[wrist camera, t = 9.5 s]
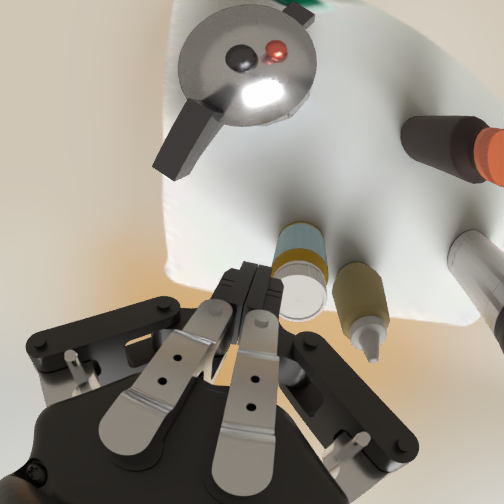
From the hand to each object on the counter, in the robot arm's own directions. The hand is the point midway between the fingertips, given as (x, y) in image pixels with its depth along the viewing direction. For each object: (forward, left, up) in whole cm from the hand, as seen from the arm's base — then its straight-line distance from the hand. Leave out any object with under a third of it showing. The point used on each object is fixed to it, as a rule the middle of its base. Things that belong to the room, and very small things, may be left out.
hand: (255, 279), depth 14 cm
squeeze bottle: (-14, +13, -27) cm, 33 cm away
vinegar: (-18, -11, -27) cm, 34 cm away
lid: (+8, -11, -18) cm, 22 cm away
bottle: (-4, +9, -27) cm, 29 cm away
